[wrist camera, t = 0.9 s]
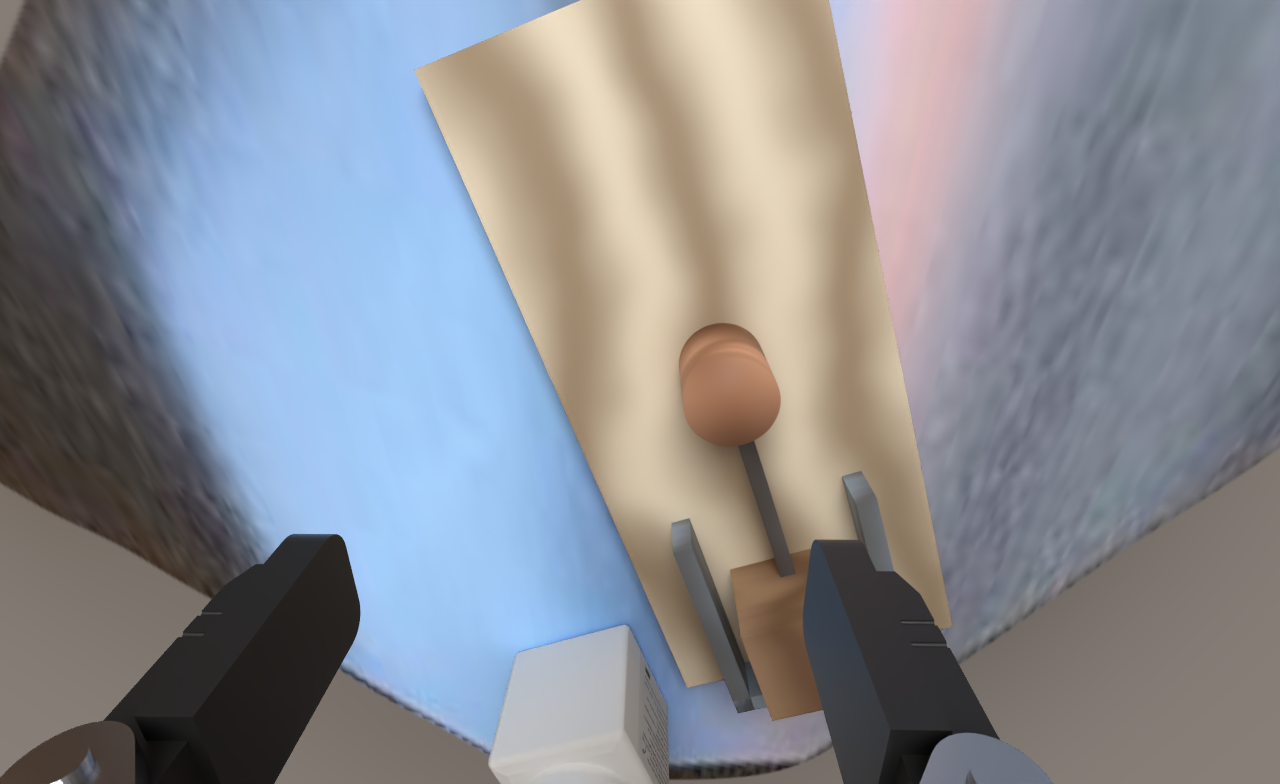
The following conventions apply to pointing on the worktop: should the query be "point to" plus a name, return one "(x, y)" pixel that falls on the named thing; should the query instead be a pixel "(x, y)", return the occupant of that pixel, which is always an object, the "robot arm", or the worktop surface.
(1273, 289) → the worktop surface
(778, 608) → the wooden joystick
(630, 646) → the container
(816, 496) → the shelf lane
